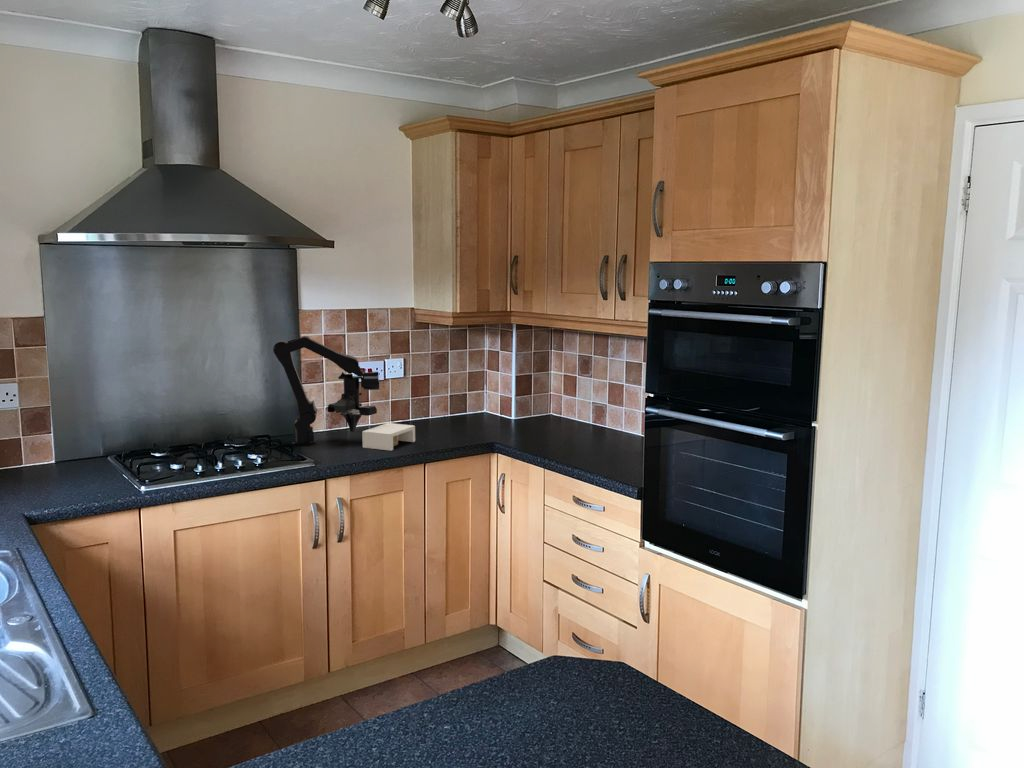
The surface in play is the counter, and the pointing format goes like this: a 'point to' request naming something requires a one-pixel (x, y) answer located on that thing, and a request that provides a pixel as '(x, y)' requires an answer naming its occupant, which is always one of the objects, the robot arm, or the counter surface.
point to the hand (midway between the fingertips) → (352, 431)
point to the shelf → (387, 435)
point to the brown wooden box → (395, 440)
